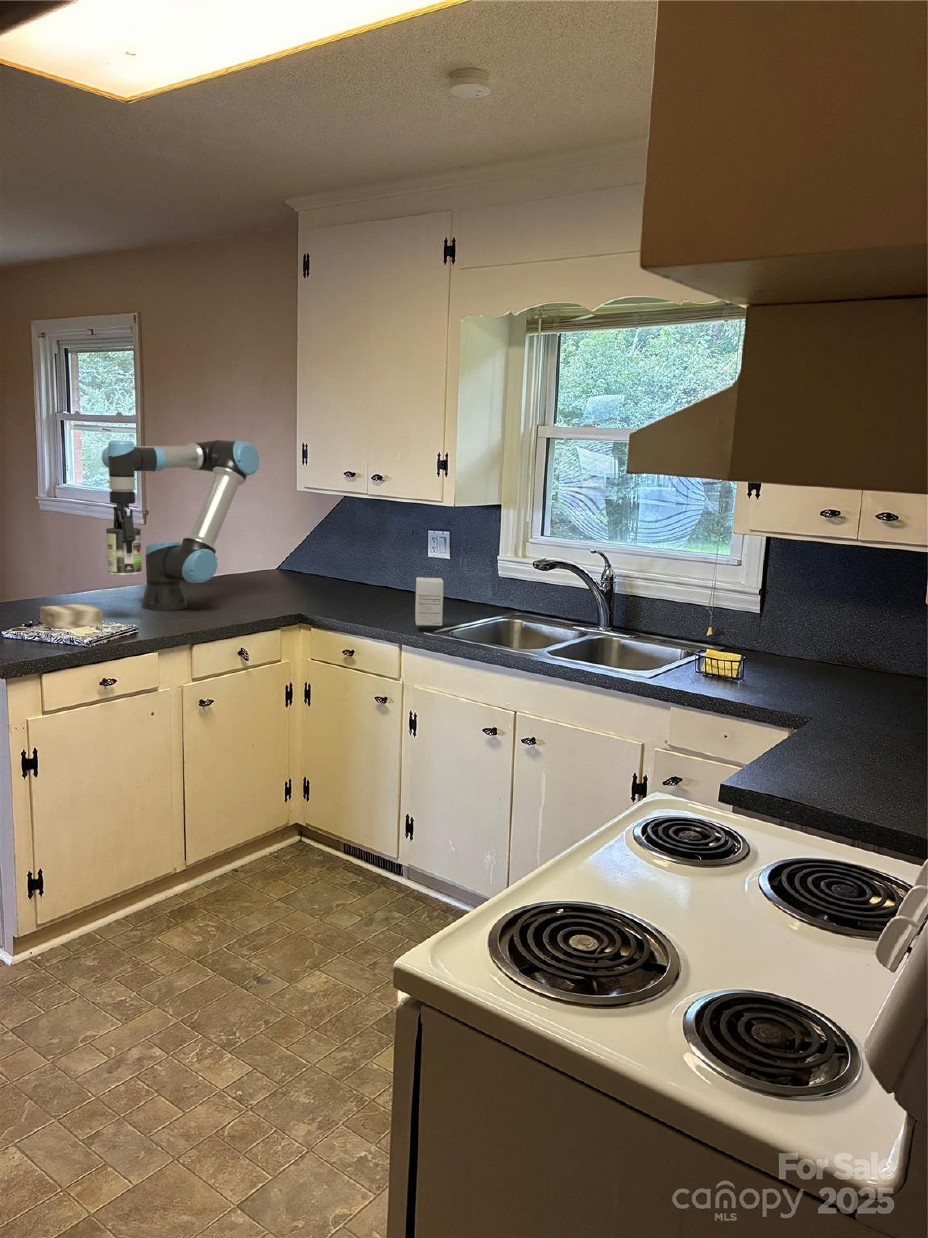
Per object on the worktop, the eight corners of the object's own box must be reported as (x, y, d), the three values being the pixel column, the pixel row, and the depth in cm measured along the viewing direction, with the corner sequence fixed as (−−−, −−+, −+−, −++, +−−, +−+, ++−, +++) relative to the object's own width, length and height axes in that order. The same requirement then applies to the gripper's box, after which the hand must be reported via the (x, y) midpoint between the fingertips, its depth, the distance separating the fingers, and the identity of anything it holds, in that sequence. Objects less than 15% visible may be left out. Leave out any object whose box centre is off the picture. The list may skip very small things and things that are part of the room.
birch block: (87, 622, 297) (86, 603, 296) (102, 629, 286) (102, 610, 285) (40, 626, 288) (39, 606, 287) (54, 633, 277) (53, 613, 276)
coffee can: (148, 572, 301) (147, 528, 298) (130, 576, 291) (129, 530, 288) (119, 570, 303) (117, 526, 300) (100, 574, 293) (99, 529, 290)
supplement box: (414, 620, 319) (415, 577, 316) (440, 621, 320) (442, 577, 317) (415, 625, 310) (416, 580, 307) (442, 626, 311) (444, 581, 308)
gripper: (101, 488, 299) (104, 557, 303) (118, 492, 281) (121, 566, 285) (125, 488, 304) (127, 556, 307) (144, 492, 285) (146, 565, 289)
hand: (124, 561), depth 296 cm, fingers closed on coffee can, 10 cm apart
